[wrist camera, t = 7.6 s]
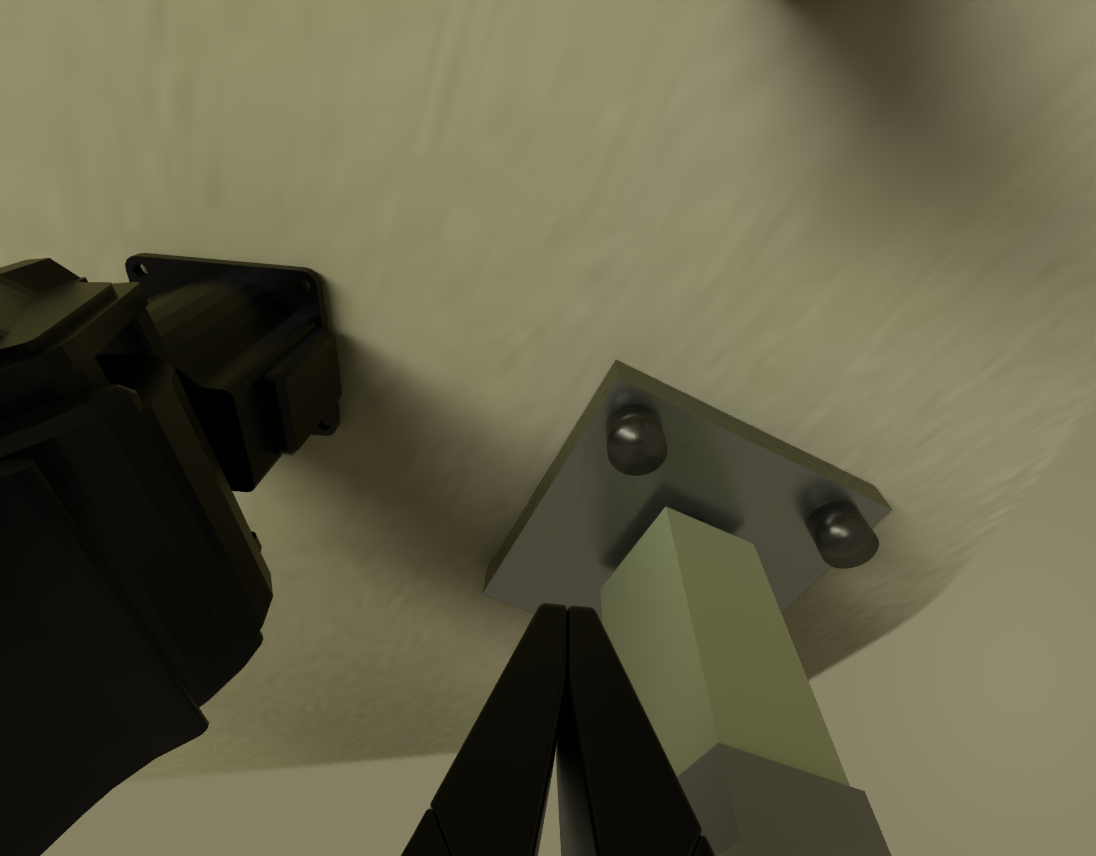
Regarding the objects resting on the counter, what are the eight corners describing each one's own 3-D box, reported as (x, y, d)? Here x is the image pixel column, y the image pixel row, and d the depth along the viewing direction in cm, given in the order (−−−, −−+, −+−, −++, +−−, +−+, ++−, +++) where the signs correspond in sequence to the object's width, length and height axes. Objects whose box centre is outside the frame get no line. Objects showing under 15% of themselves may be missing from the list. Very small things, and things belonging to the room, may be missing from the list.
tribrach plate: (487, 569, 26) (476, 621, 24) (615, 359, 21) (620, 398, 18) (703, 653, 29) (716, 709, 26) (874, 485, 23) (912, 536, 20)
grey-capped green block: (594, 590, 24) (613, 1004, 13) (663, 500, 21) (760, 927, 10) (683, 624, 24) (769, 1037, 14) (761, 542, 22) (940, 973, 11)
